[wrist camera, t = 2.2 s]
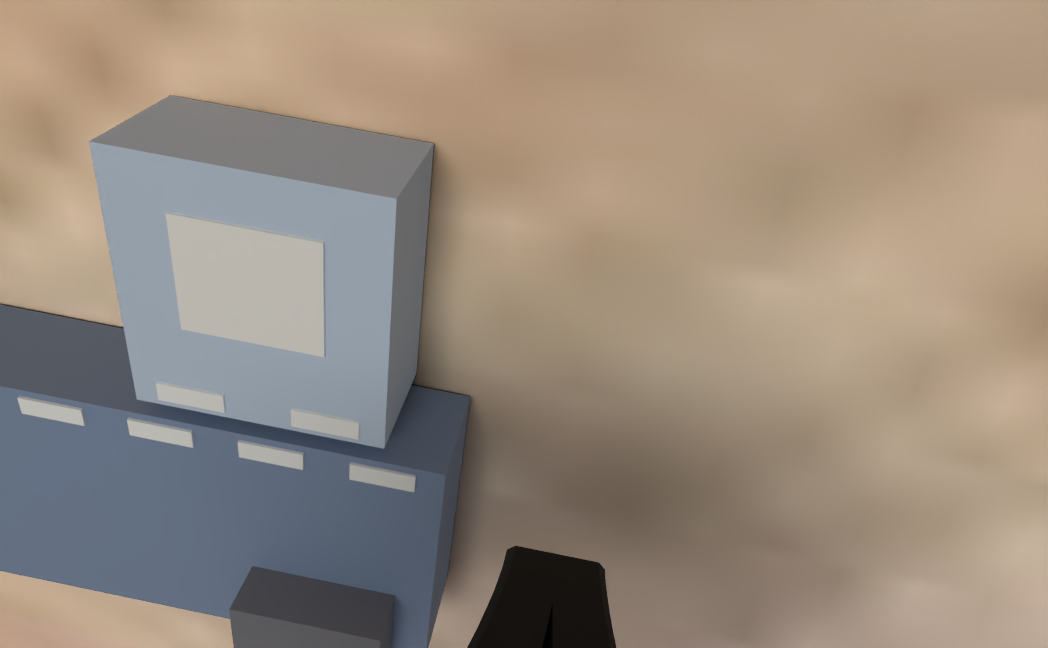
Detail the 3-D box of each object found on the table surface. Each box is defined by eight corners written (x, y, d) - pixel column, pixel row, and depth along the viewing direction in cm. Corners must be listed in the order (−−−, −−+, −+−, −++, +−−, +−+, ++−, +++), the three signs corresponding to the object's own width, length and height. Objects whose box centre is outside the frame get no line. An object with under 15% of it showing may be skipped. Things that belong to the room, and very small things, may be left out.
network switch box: (470, 396, 21) (431, 519, 17) (447, 575, 25) (412, 705, 21) (-29, 298, 21) (-170, 397, 18) (31, 490, 25) (-73, 602, 22)
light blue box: (433, 143, 17) (395, 200, 14) (416, 372, 21) (383, 451, 18) (170, 95, 17) (86, 142, 15) (198, 329, 21) (135, 401, 18)
